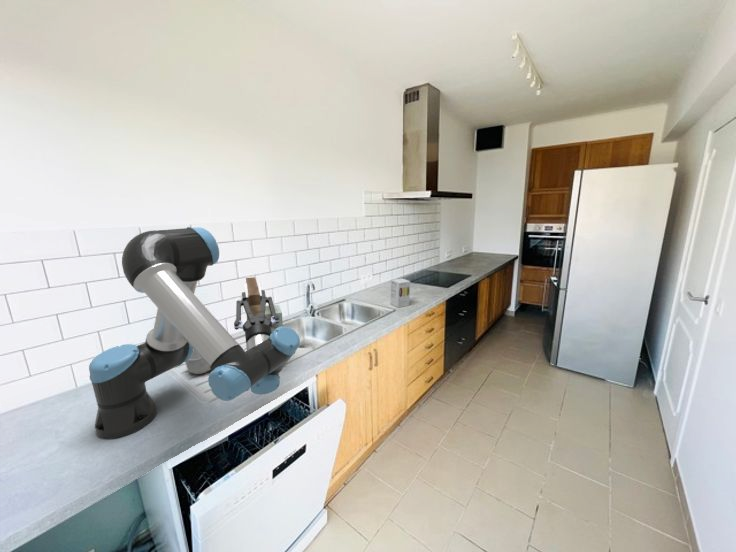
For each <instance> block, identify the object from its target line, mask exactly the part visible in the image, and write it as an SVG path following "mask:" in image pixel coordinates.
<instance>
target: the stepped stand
mask: <svg viewBox="0 0 736 552" xmlns="http://www.w3.org/2000/svg"><path fill="white" fill-rule="evenodd" d="M260 302H261V303H262V301H260ZM248 305H249V303H248ZM249 308H250V310H251V313H252V315H255V316H257V315H260V311H261V305H253V306H249ZM274 308H275V312H276V314H277V315H278V316H279V323H274V324H272V327H271V331H272V333H273V332H274V330H275V329H276V328H278V327H281V326H284V322H283V313H282V309H281V306H280V305H279V304H274ZM265 317H267V318H268V319H269V320H271V317H272V316H271V312H270V308H269V305H266V308H265ZM247 320H248V317H247V316H246V321H247ZM286 366H287V364H285V365H284V366H283V368H285V367H286Z"/></svg>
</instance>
